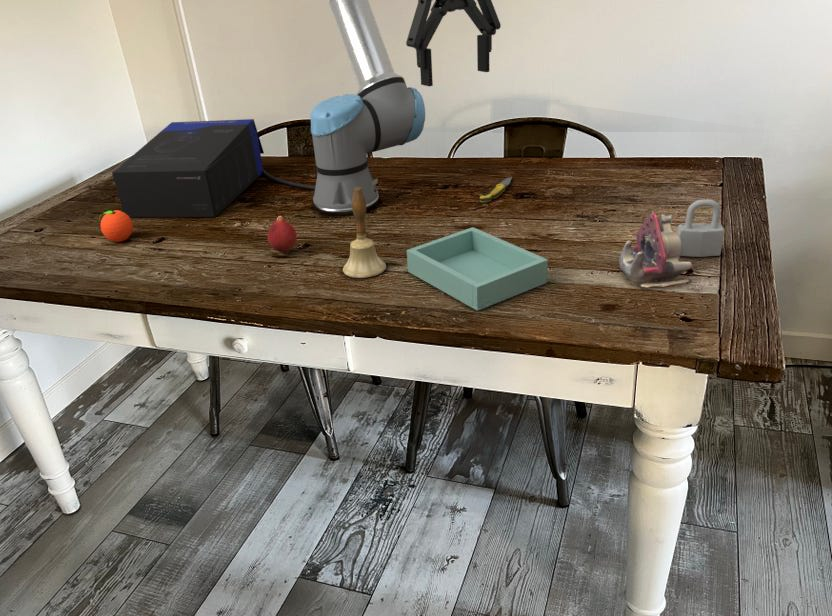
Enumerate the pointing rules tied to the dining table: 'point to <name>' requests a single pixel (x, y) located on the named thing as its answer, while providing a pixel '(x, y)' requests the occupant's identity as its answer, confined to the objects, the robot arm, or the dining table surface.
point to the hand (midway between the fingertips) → (455, 78)
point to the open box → (477, 267)
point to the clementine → (116, 225)
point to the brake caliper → (654, 254)
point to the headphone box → (190, 169)
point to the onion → (282, 235)
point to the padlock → (701, 232)
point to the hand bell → (362, 245)
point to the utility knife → (495, 191)
